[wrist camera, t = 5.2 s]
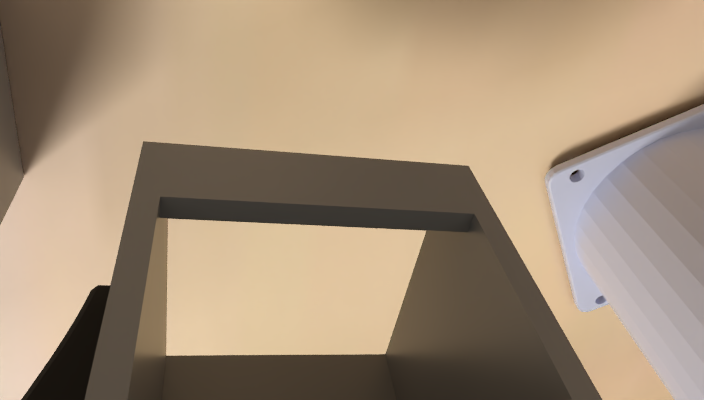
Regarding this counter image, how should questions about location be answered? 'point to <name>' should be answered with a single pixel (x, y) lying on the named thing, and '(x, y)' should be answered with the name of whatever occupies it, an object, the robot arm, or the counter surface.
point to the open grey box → (7, 141)
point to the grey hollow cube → (348, 211)
